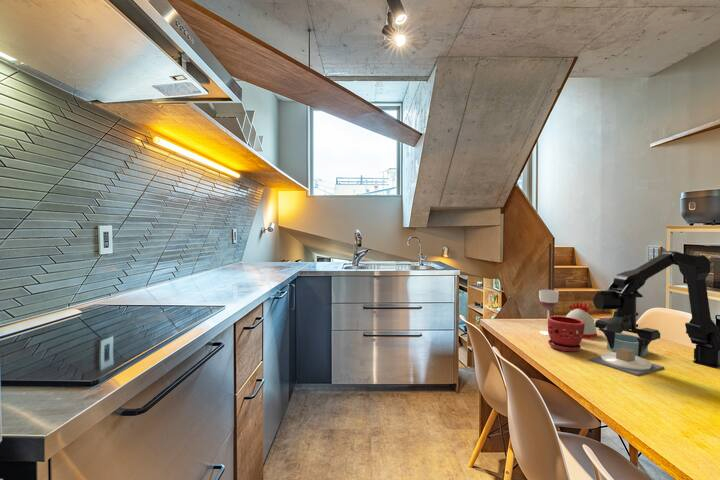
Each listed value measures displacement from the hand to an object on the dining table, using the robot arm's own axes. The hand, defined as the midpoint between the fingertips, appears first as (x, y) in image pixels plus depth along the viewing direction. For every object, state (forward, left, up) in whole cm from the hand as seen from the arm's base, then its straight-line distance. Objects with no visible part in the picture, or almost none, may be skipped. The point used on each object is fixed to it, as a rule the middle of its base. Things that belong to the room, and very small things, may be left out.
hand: (625, 352), depth 129 cm
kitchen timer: (+33, -23, -4) cm, 41 cm away
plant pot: (+21, +3, -4) cm, 22 cm away
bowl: (+9, -17, -4) cm, 20 cm away
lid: (0, 0, -4) cm, 4 cm away
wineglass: (+39, -10, -4) cm, 41 cm away
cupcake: (+28, -38, -4) cm, 47 cm away
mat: (0, 0, -4) cm, 4 cm away
